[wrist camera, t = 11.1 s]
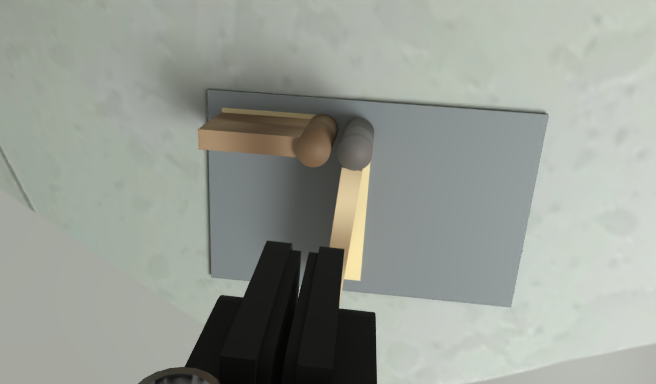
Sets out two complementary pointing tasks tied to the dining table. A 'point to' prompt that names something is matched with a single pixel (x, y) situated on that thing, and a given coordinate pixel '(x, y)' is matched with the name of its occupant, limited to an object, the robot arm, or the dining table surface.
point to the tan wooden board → (350, 181)
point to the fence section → (271, 136)
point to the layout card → (386, 197)
